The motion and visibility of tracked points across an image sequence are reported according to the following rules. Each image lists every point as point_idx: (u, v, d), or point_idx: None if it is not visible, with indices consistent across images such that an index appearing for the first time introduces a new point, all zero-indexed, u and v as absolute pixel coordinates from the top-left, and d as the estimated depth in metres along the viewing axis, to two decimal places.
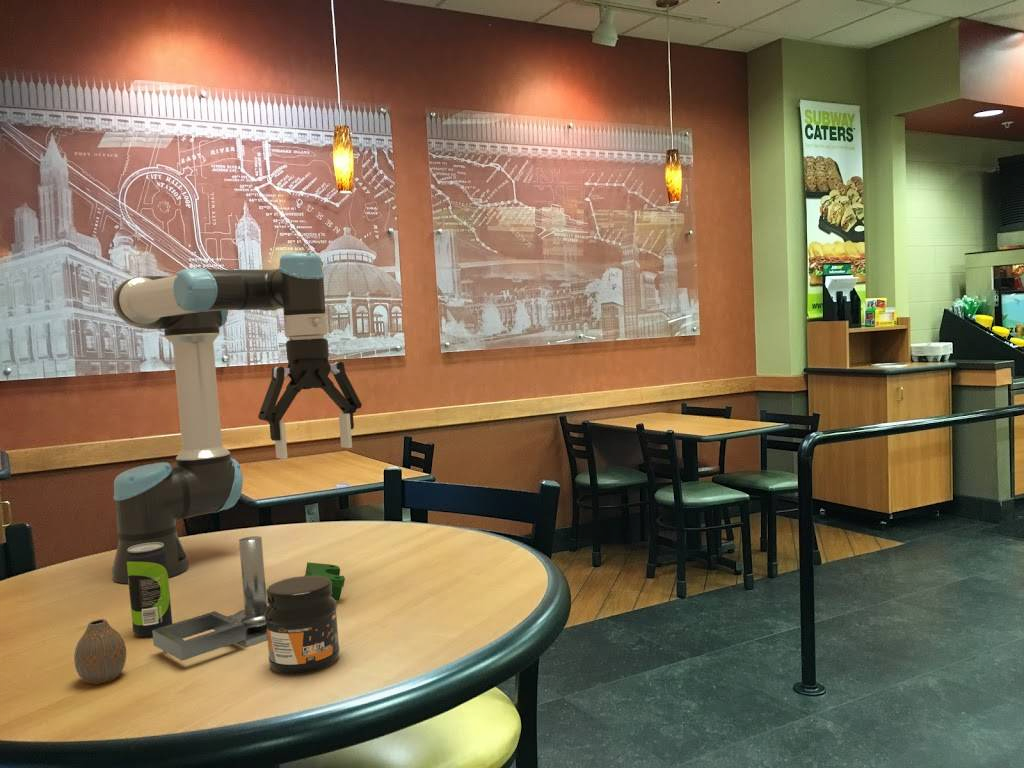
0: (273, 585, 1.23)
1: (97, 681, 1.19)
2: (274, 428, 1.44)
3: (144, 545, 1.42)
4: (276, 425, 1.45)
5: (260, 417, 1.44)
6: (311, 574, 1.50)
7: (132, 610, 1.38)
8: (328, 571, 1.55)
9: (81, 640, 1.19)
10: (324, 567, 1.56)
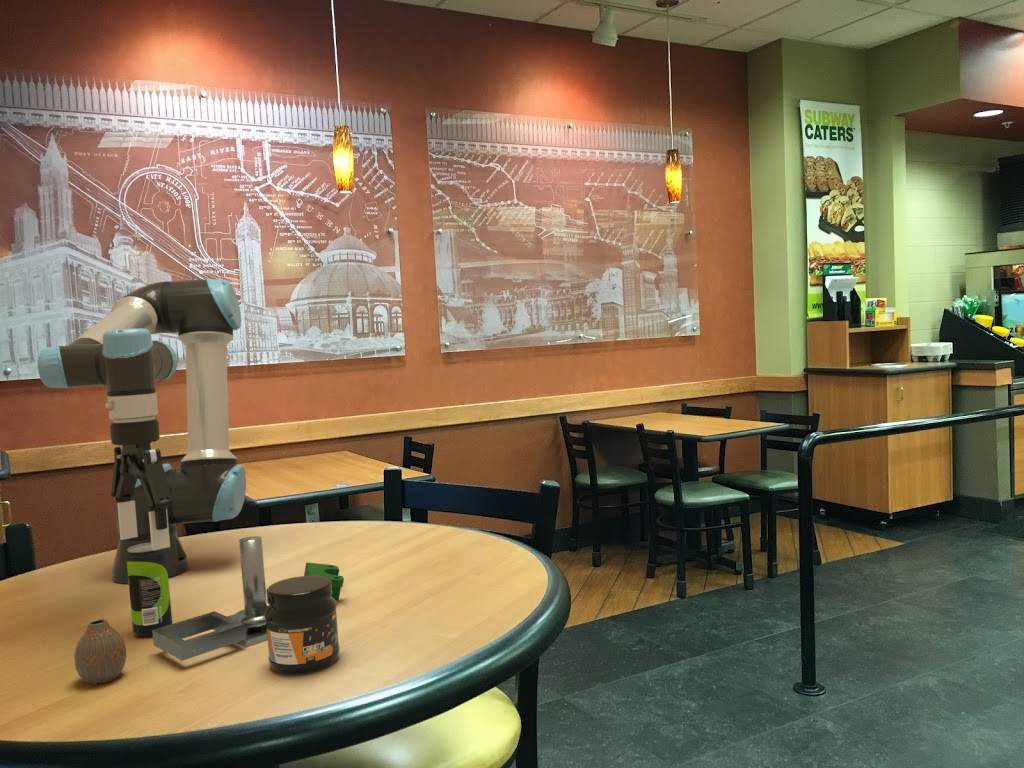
0: (273, 585, 1.23)
1: (97, 681, 1.19)
2: None
3: (144, 545, 1.42)
4: None
5: None
6: (310, 574, 1.50)
7: (132, 610, 1.38)
8: (327, 571, 1.55)
9: (81, 640, 1.19)
10: (323, 567, 1.56)
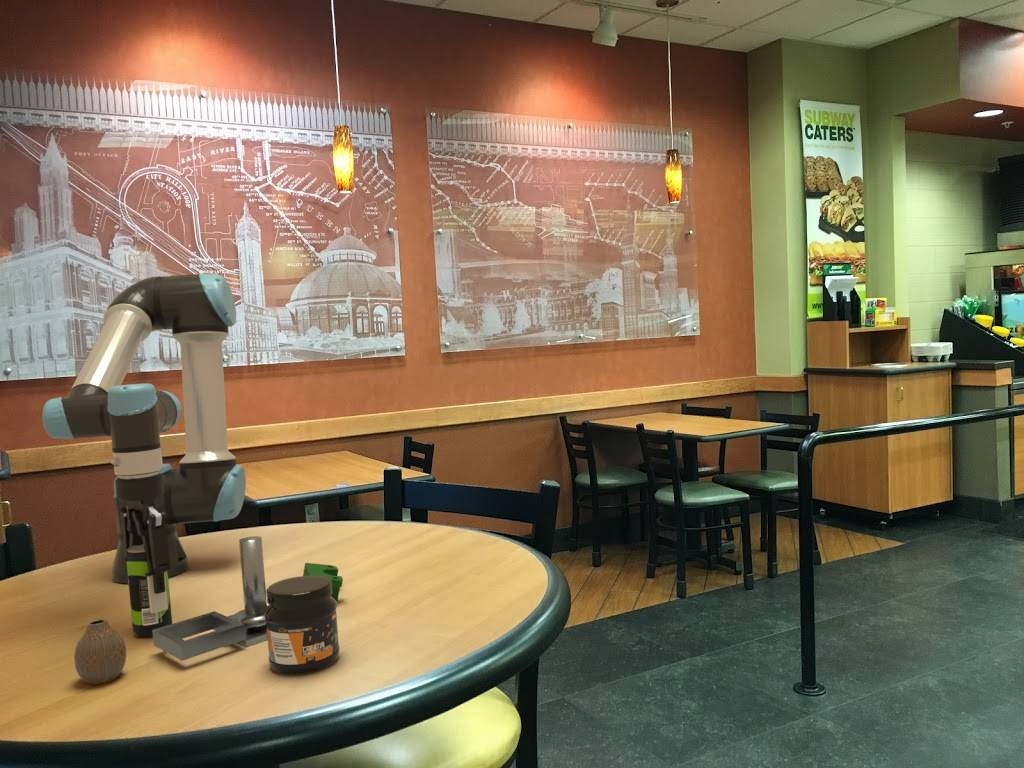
0: (273, 585, 1.23)
1: (97, 681, 1.19)
2: None
3: None
4: None
5: None
6: (309, 575, 1.49)
7: (132, 610, 1.38)
8: (326, 571, 1.55)
9: (81, 640, 1.19)
10: (322, 567, 1.56)
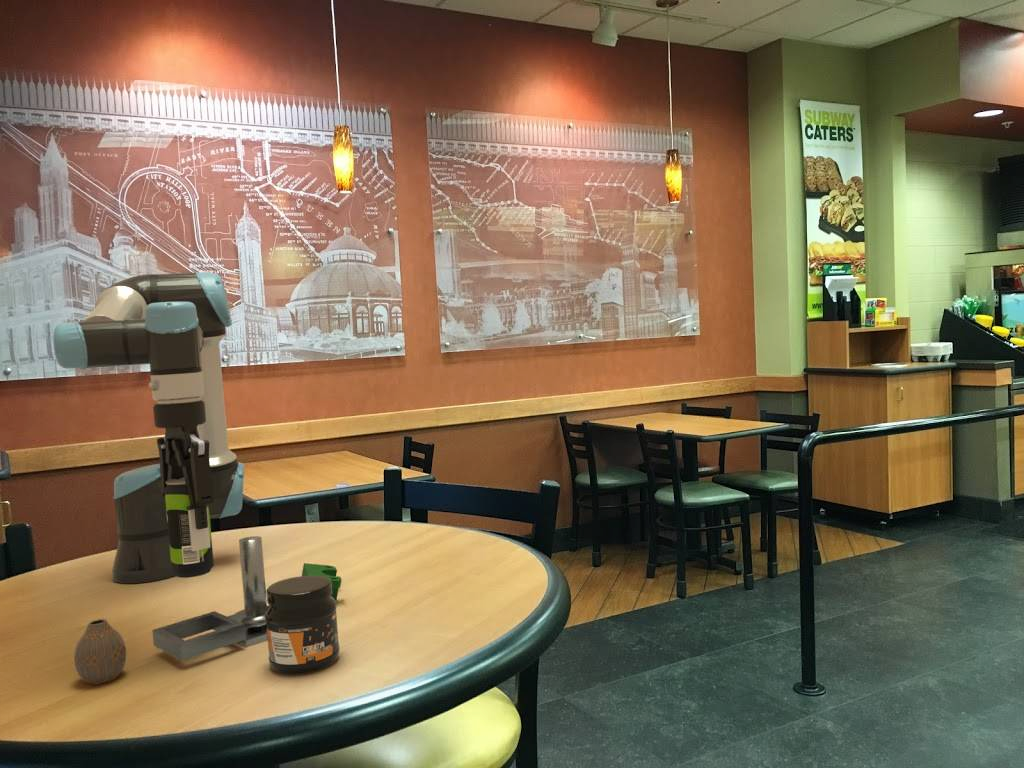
0: (273, 585, 1.23)
1: (97, 681, 1.19)
2: None
3: (183, 479, 1.30)
4: None
5: None
6: (308, 575, 1.49)
7: (171, 548, 1.27)
8: (325, 572, 1.55)
9: (81, 640, 1.19)
10: (321, 568, 1.56)
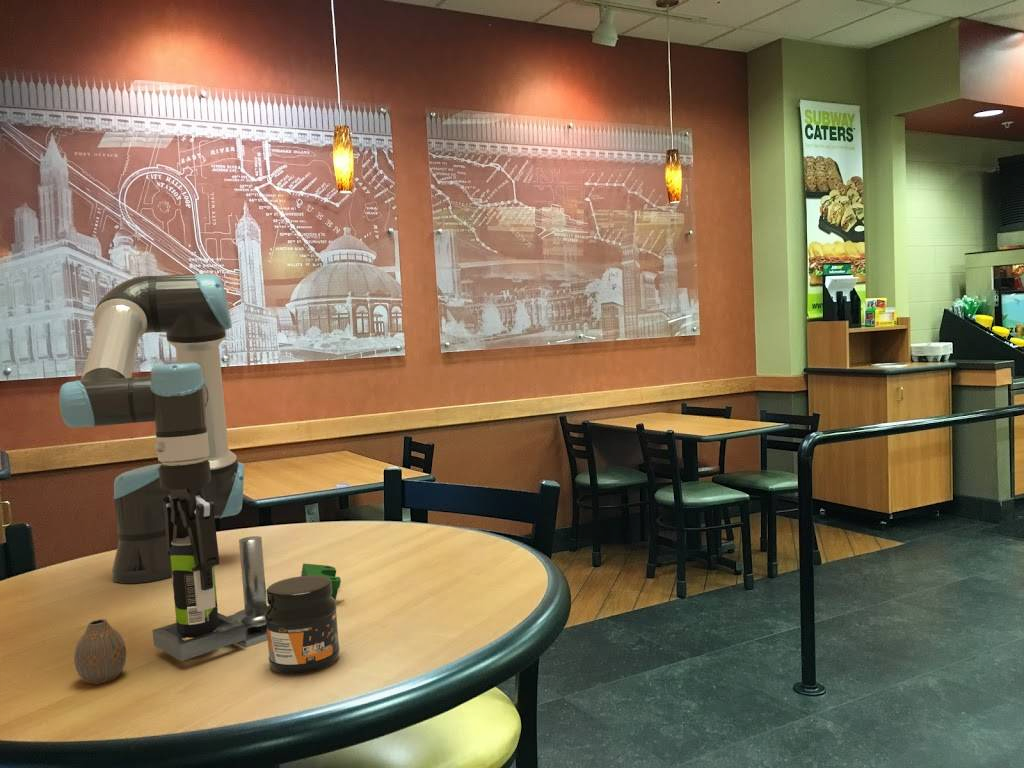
0: (273, 585, 1.23)
1: (97, 681, 1.19)
2: None
3: (188, 538, 1.31)
4: None
5: None
6: (307, 575, 1.49)
7: (176, 608, 1.27)
8: (324, 572, 1.55)
9: (81, 640, 1.19)
10: (320, 568, 1.55)
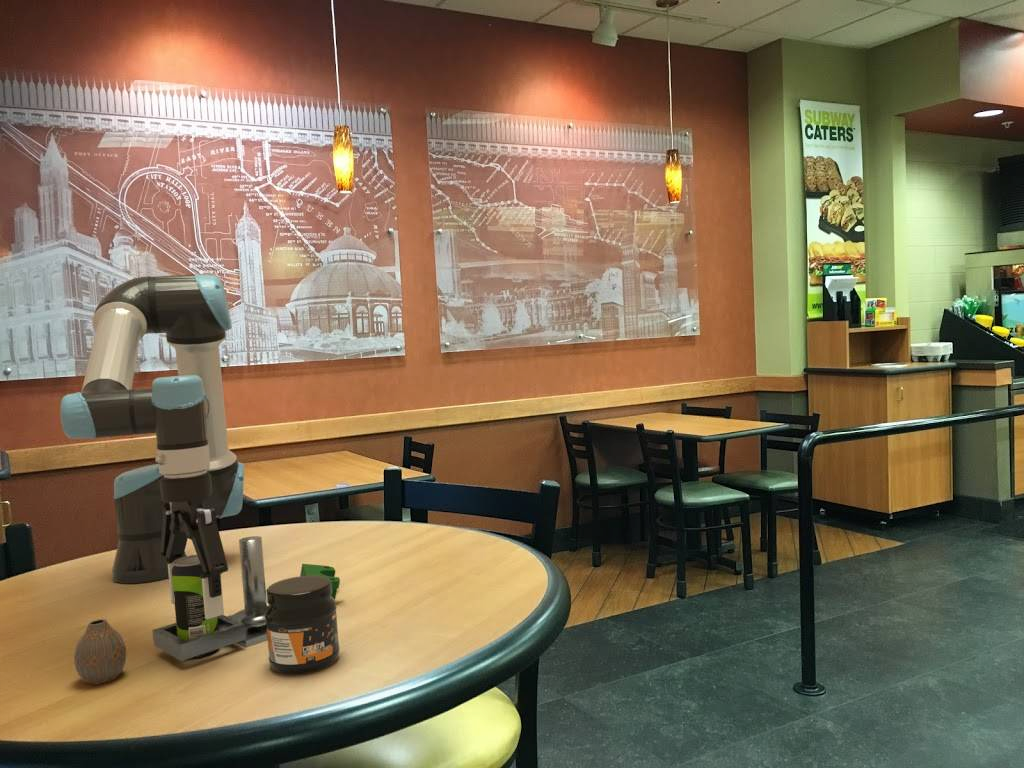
0: (273, 585, 1.23)
1: (97, 681, 1.19)
2: None
3: (190, 558, 1.31)
4: None
5: None
6: (306, 575, 1.49)
7: (178, 628, 1.28)
8: (323, 572, 1.55)
9: (81, 640, 1.19)
10: (319, 568, 1.55)
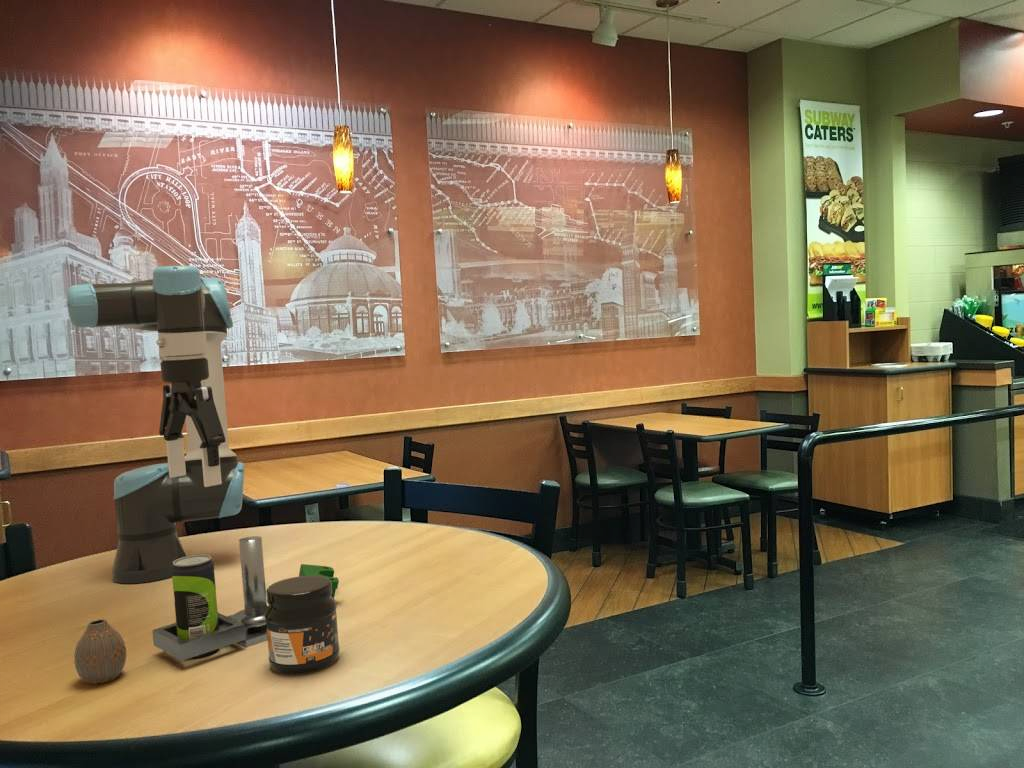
0: (273, 585, 1.23)
1: (97, 681, 1.19)
2: None
3: (190, 558, 1.31)
4: None
5: None
6: None
7: (178, 628, 1.28)
8: (322, 573, 1.54)
9: (81, 640, 1.19)
10: (318, 569, 1.55)
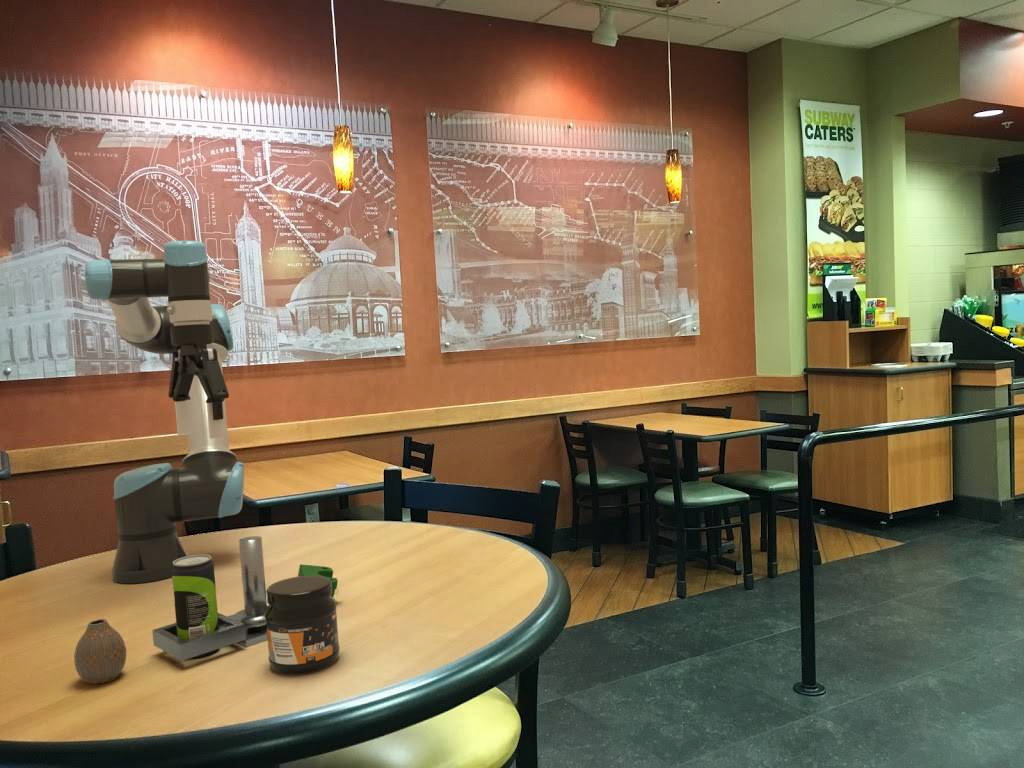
0: (273, 585, 1.23)
1: (97, 681, 1.19)
2: None
3: (190, 558, 1.31)
4: None
5: None
6: None
7: (178, 628, 1.28)
8: (321, 573, 1.54)
9: (81, 640, 1.19)
10: (317, 569, 1.55)
